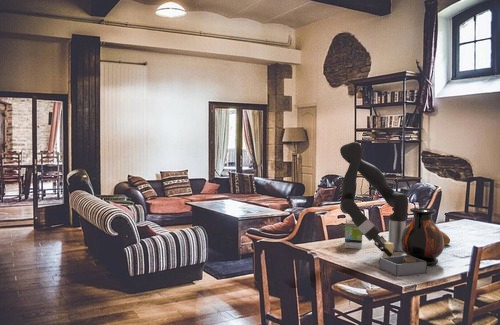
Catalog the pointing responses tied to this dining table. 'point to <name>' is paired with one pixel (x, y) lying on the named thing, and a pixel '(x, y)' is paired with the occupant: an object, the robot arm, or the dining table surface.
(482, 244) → the dining table surface
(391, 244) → the candle
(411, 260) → the cube
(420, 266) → the tote
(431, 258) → the amphora vase
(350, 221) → the tea box
